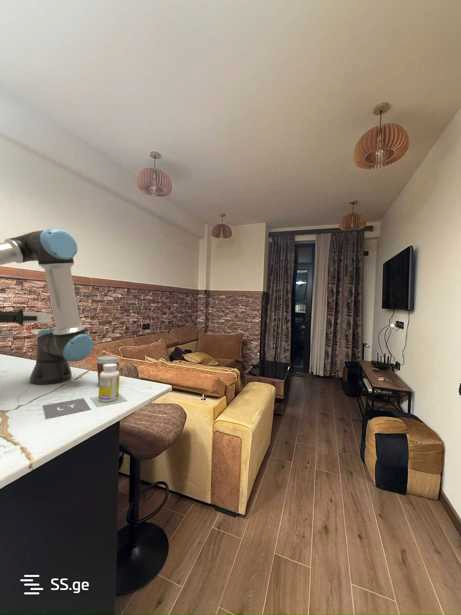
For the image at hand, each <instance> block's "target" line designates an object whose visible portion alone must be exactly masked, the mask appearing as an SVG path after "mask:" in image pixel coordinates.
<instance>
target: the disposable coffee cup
mask: <svg viewBox="0 0 461 615" xmlns="http://www.w3.org/2000/svg"><path fill="white" fill-rule="evenodd" d="M120 361H121V359H120V357H119V356H118V355H102V356H101V355H100V356H98V357H96V360H95V362H96V366H97V380H98V383H99V380H100V373H101V372H103V371H104V369H103V365H105V364H117V369H116V370H117V371H118V369H119V363H120Z"/></svg>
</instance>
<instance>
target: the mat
mask: <svg viewBox="0 0 461 615" xmlns="http://www.w3.org/2000/svg"><path fill="white" fill-rule="evenodd" d="M90 400H91V401H92V402H93V404H94V406H95V407H96V408H99V407H104V406H108V405H113V404H118V403H124V402H127V401H128V400H127V399H126V398H125V397H124V396H123V395H121V393H119V395H118V398H117V399H116V400H114V401H110V402H101V401H99V395H98V396H94V397H92V396H91V397H90Z"/></svg>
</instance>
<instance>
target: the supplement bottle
mask: <svg viewBox="0 0 461 615" xmlns="http://www.w3.org/2000/svg"><path fill="white" fill-rule="evenodd" d="M103 369H104V371H103V372H101V373H100V380H99V382H98V386H99V387H98V396H99V401H101V402H110V401H114V400H116V399H117V398H118V395H119V394H120V393H119V392H120V391H119V390H120V375H121V374H120V372H119V371H118V369H117V364H105V365H103ZM116 369H117V370H116Z"/></svg>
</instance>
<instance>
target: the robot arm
mask: <svg viewBox="0 0 461 615" xmlns="http://www.w3.org/2000/svg"><path fill="white" fill-rule="evenodd" d="M77 253H78V243H77V242H76V240H75V238H74V236H72V235H71V234H70V233H69V232H67V231H65V230H64V229H59V228H46V229H43V230H35V231H31V232H28V233H25V234H22V235H18V236H14V237H10V238H5V239H4V241H3V242H0V266H2V265H7V264H10V263H17V264H23V263H26V262H38V266H39V267H41V268H42V269H43V270H44V274H45V278H46V283H47V288H48V289H47V290H48V293H49V300H50V302H51V308H52V313H53V318H54V322H55V323H54V324H55V328H47V329H40V330H39V331H38V332H37V337H36V341H37V342H36V356H35V358H36V360H35V361H36V362H35V366H34V367H33V370H32V372H31V374H30V377H29V382H30V383H31V384H32V385H33V384H34V385H52V384H59V383H62V382H67V381H68V380H70V379H72V377H73V376H72V374H73V373H72V370H71V366H70V364H69V362H81V361H83V360H85V359H87V358H88V357H89V356H90V354H91V353H92V351H93V350H94V346H95V343H94V340H93V338H92V337H91V336H90V335H89V334H88V333H87V330H86V326H84V325H83V324H81V321H80V320H81V319H80V318H81V317H80V314H79V308H78V303H77V297H76V291H75V286H74V279H73V276H72V275H73V274H72V267H74V265H75V262H74V261H75V260H74V257H75V256H76V255H77ZM0 323H5V324H6V323H9V324H11V323H12V324H13V323H14V324H18V325H19V326H24V324H25V323H26V324H27V323H28V324H29V323H30V324H31V323H34V324H35V323H36V324H37V323H42V324H44V323H45V324H47V323H48V324H49V323H51V314H50V313H48V312H46V311H45V312H44V311H39V312H38V311H24V309H19V311H3V310H0Z"/></svg>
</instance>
